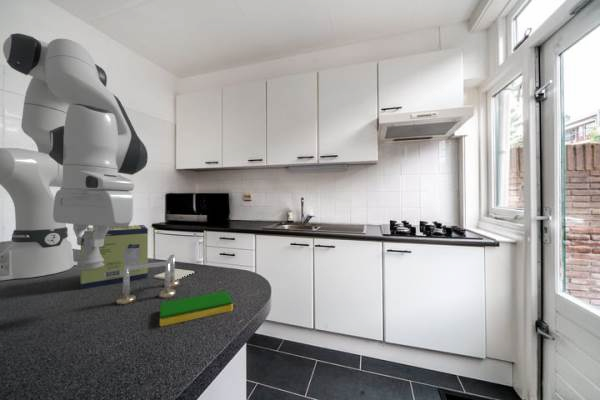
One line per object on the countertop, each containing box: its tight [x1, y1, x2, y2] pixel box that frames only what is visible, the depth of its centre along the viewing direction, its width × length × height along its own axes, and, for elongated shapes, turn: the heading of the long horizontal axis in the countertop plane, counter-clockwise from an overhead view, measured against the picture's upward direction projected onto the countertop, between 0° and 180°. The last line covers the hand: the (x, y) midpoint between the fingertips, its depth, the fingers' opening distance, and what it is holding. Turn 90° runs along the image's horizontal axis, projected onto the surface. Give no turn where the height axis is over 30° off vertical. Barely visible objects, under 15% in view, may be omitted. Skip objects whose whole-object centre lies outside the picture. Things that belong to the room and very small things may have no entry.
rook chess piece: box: [76, 230, 104, 272], centre depth 50 cm, size 4×4×8 cm
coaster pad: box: [153, 268, 195, 280], centre depth 74 cm, size 8×8×1 cm
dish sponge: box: [159, 290, 234, 327], centre depth 51 cm, size 7×14×2 cm, turn 120°
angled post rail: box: [116, 254, 180, 306], centre depth 60 cm, size 10×16×8 cm, turn 161°
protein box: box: [80, 224, 149, 290], centre depth 71 cm, size 10×16×16 cm
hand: (90, 245), depth 50 cm, fingers closed on rook chess piece, 3 cm apart
